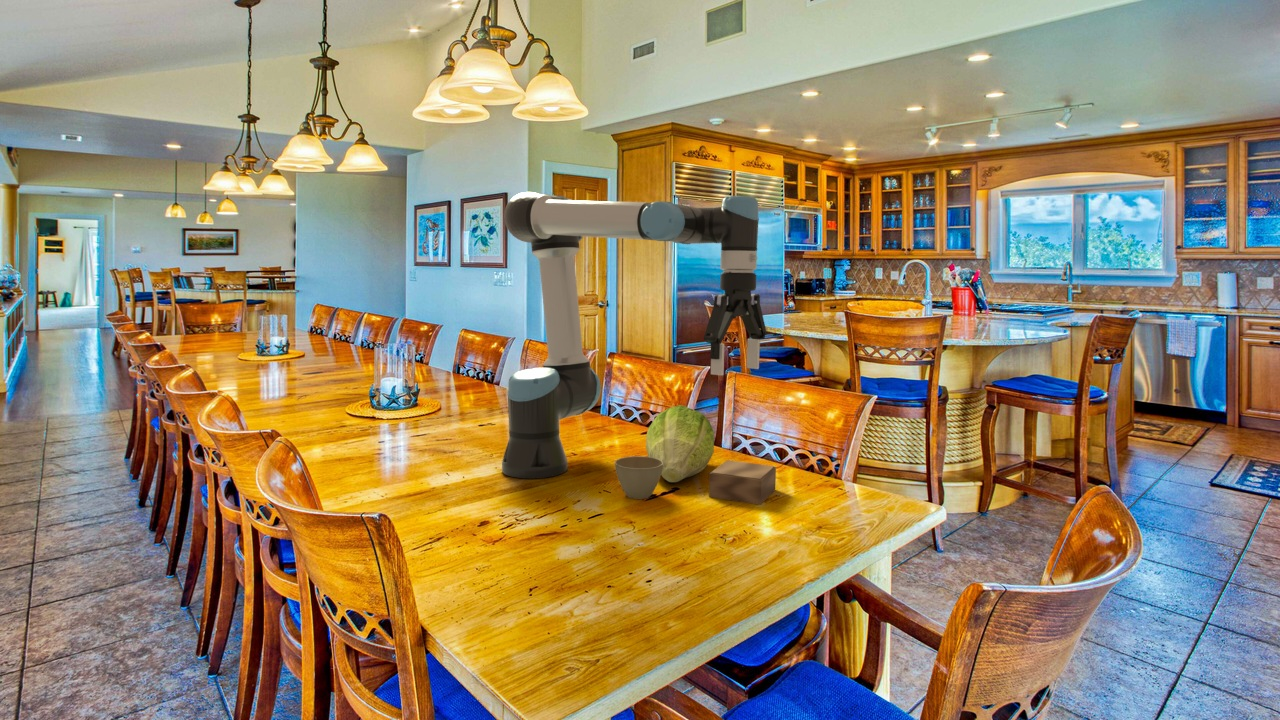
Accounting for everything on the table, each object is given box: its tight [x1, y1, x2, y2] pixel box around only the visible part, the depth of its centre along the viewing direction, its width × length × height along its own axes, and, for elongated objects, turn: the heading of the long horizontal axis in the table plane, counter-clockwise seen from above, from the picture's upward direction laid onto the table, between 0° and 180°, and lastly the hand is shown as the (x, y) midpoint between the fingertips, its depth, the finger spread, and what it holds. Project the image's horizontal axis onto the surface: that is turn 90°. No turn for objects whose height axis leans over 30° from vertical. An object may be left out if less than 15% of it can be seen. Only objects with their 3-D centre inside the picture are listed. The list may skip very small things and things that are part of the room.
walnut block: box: [708, 460, 777, 505], centre depth 147 cm, size 11×11×5 cm
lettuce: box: [645, 404, 715, 483], centre depth 161 cm, size 15×24×16 cm
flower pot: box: [614, 455, 663, 500], centre depth 145 cm, size 10×10×7 cm
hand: (735, 371), depth 150 cm, fingers open, 13 cm apart
